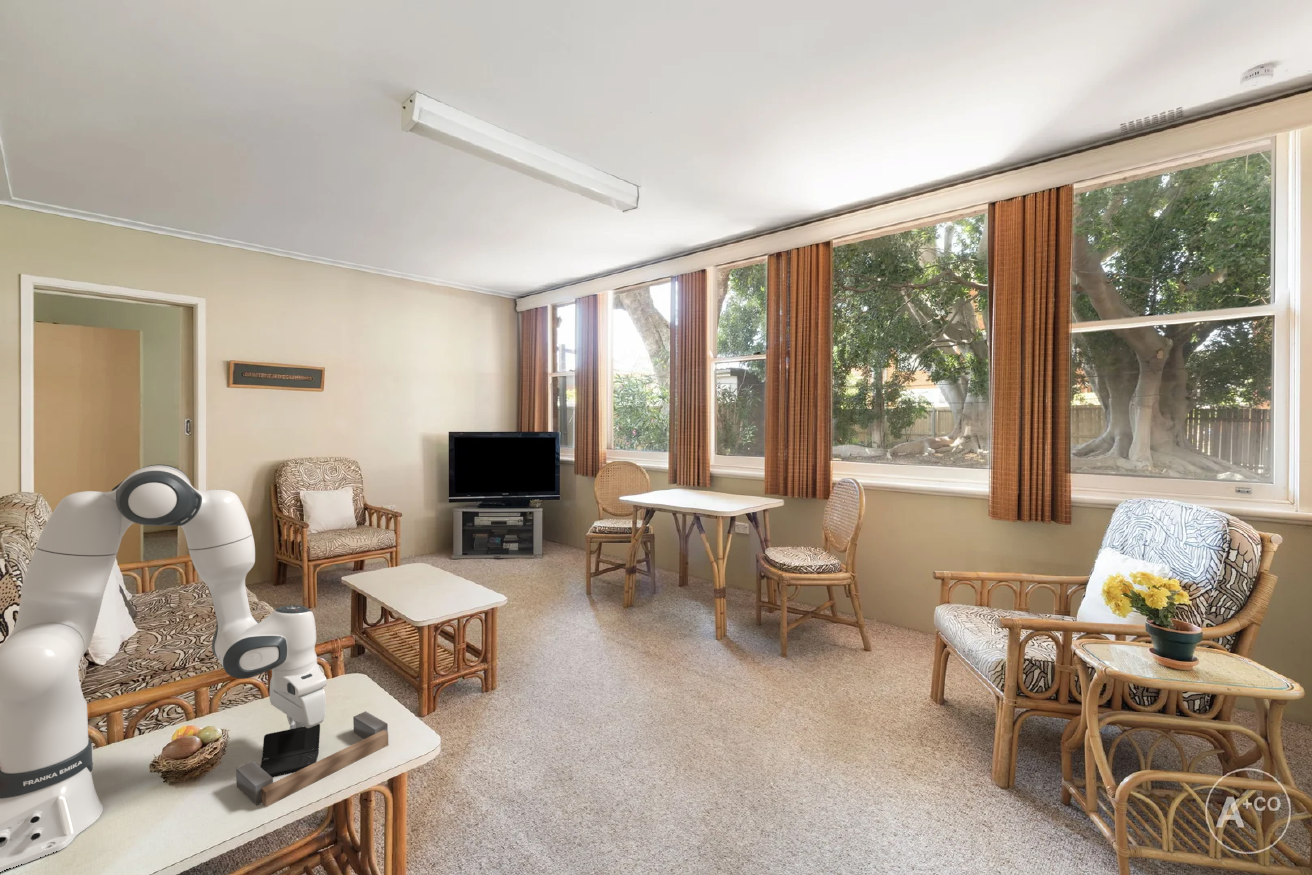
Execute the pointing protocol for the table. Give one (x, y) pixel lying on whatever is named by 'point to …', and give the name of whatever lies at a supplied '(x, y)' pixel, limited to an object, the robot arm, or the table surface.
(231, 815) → the table surface
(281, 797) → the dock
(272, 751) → the handheld gaming console
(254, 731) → the table surface
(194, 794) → the table surface
